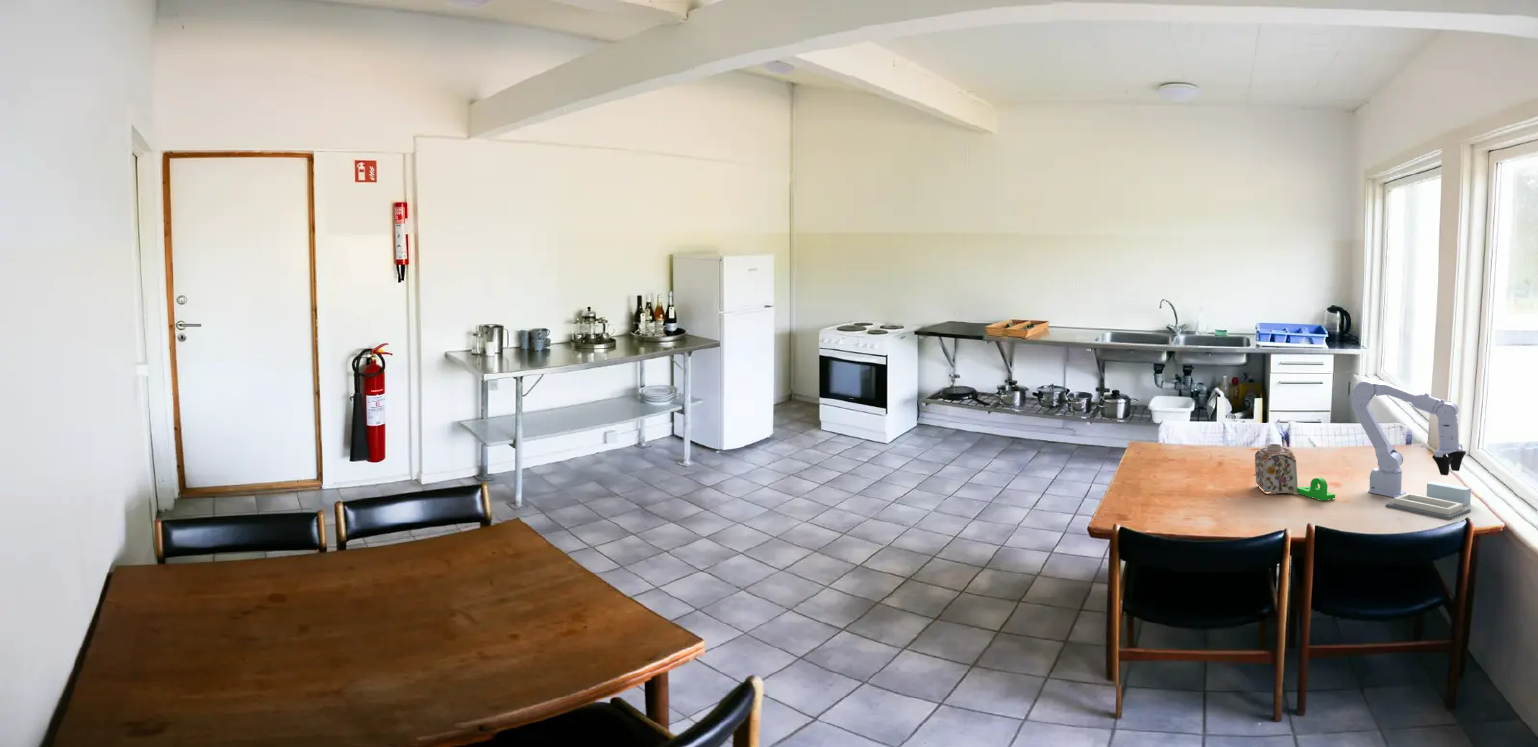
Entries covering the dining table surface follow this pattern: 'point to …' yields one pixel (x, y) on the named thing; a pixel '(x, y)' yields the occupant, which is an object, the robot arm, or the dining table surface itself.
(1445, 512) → the cradle jig
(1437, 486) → the block
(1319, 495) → the mechanical part
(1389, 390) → the robot arm
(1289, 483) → the decorative jar
